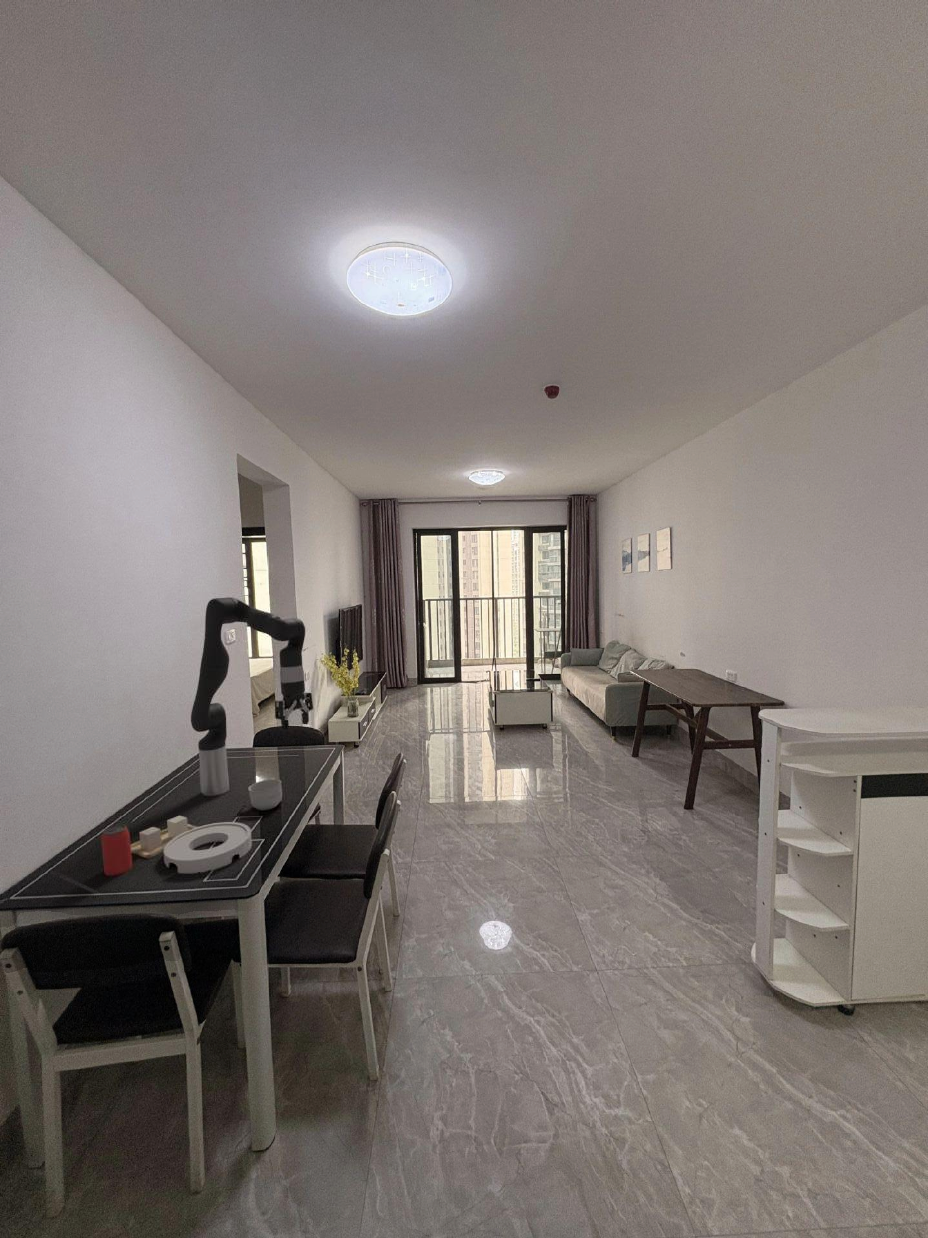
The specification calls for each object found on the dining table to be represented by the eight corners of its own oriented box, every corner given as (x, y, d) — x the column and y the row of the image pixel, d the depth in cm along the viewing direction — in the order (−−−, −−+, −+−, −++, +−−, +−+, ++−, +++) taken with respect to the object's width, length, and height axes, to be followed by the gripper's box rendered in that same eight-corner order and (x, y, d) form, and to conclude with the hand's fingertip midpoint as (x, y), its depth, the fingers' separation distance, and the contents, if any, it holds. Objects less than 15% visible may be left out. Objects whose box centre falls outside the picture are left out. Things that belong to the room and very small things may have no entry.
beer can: (113, 865, 155) (108, 824, 154) (137, 863, 155) (133, 822, 154) (99, 878, 148) (95, 835, 147) (125, 876, 149) (120, 833, 148)
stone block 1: (140, 848, 163) (139, 832, 162) (154, 842, 166) (152, 826, 166) (148, 851, 161) (147, 835, 160) (161, 845, 164) (160, 829, 164)
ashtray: (155, 881, 146) (153, 867, 146) (174, 842, 168) (173, 829, 168) (248, 865, 152) (247, 851, 152) (255, 829, 175) (254, 817, 174)
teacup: (272, 814, 185) (270, 791, 184) (243, 812, 187) (241, 790, 186) (293, 797, 198) (291, 775, 198) (266, 796, 200) (264, 775, 200)
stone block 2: (168, 836, 170) (167, 820, 170) (180, 830, 174) (179, 815, 173) (176, 839, 168) (174, 823, 168) (188, 833, 172) (187, 817, 171)
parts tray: (124, 851, 163) (124, 847, 163) (182, 826, 178) (181, 822, 178) (148, 860, 157) (147, 856, 157) (205, 833, 172) (204, 829, 172)
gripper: (300, 674, 189) (303, 721, 190) (267, 682, 177) (270, 732, 178) (316, 675, 185) (319, 723, 187) (283, 684, 173) (287, 734, 174)
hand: (295, 727), depth 182 cm, fingers open, 8 cm apart
